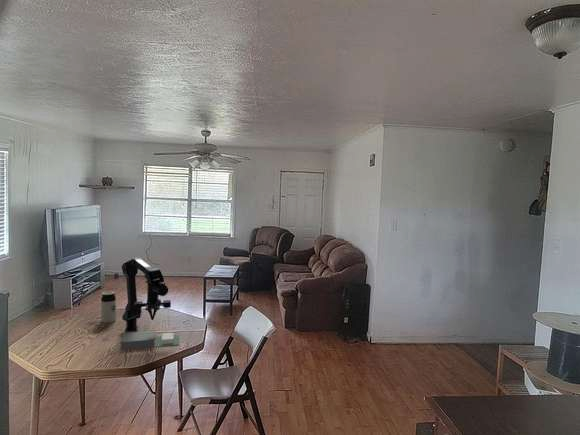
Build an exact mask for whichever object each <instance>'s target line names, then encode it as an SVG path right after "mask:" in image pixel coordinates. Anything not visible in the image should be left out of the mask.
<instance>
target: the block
mask: <svg viewBox="0 0 580 435" xmlns="http://www.w3.org/2000/svg"><path fill="white" fill-rule="evenodd" d="M174 335H175V334H174V332H168V333H167V332H166V333H165V332H164V333H162V334H161V336H162V344H169V343H173V342H174Z"/></svg>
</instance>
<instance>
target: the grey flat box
mask: <svg viewBox="0 0 580 435" xmlns="http://www.w3.org/2000/svg"><path fill="white" fill-rule="evenodd" d="M155 343H156V330H149V331H148V330H147V331H145V330H144V331H136V332H135V331H134V332H133V331H131V332H124V333H123V335H122V337H121V341H120V351H122V350H123V351H124V350H135V349H146V348H155Z"/></svg>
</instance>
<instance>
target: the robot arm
mask: <svg viewBox="0 0 580 435" xmlns="http://www.w3.org/2000/svg"><path fill="white" fill-rule="evenodd" d="M121 270H122V274H123V276H124V277H125V279H126V292H127V304H126V306H125V308H124V309H125V311H124V312H123V314H122V315H121V318H122V320H123V321H124V322H125V323H126V324H125V326H126V327H125V330H124V332H133V331H134V332H135V331H137V330H138V328H139V326H138V323H137V322H138V321H137V320H138V319H141V315H142V307H143V308H145V311H147V312H148V314H149V316H150V319H151V321H154V319H155V316H156V313H157V311H159V310H160V308H161V307H163V308H164V309H171V307H172V306H171V305H172V301H171V300H169V299H166V300H162V299H161V298H160V299H159V296H160V297H164V296H166V295H167V294H168V293H169V287H168V286H167V285H166V282H165V278H164V276H163V274H162V271H161V269H159V268H158V267H154V266H151V265H149V264H148V263H147V262H145V261H144V259H143V260H142V258H141V257H135V258H134V257H133V258H132V259H130V260H128V261H126V262H124V263H122V265H121ZM138 271H141V272H142V273H143V274H144V278H145V279H146V281H145V283H146V284H147V288H146V289H147V293H146V294H147V300H146V302H143V301H142V300H141V301H140V300H139V301H138V296H137V285H136V284H137V283H136V277H137V275H138Z"/></svg>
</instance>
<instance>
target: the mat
mask: <svg viewBox="0 0 580 435" xmlns="http://www.w3.org/2000/svg"><path fill="white" fill-rule="evenodd" d="M172 346H180V335H179V334H174V342H173V343H169V344H162V335H160V336H155V344H154V348H160V347H161V348H162V347H172Z"/></svg>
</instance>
